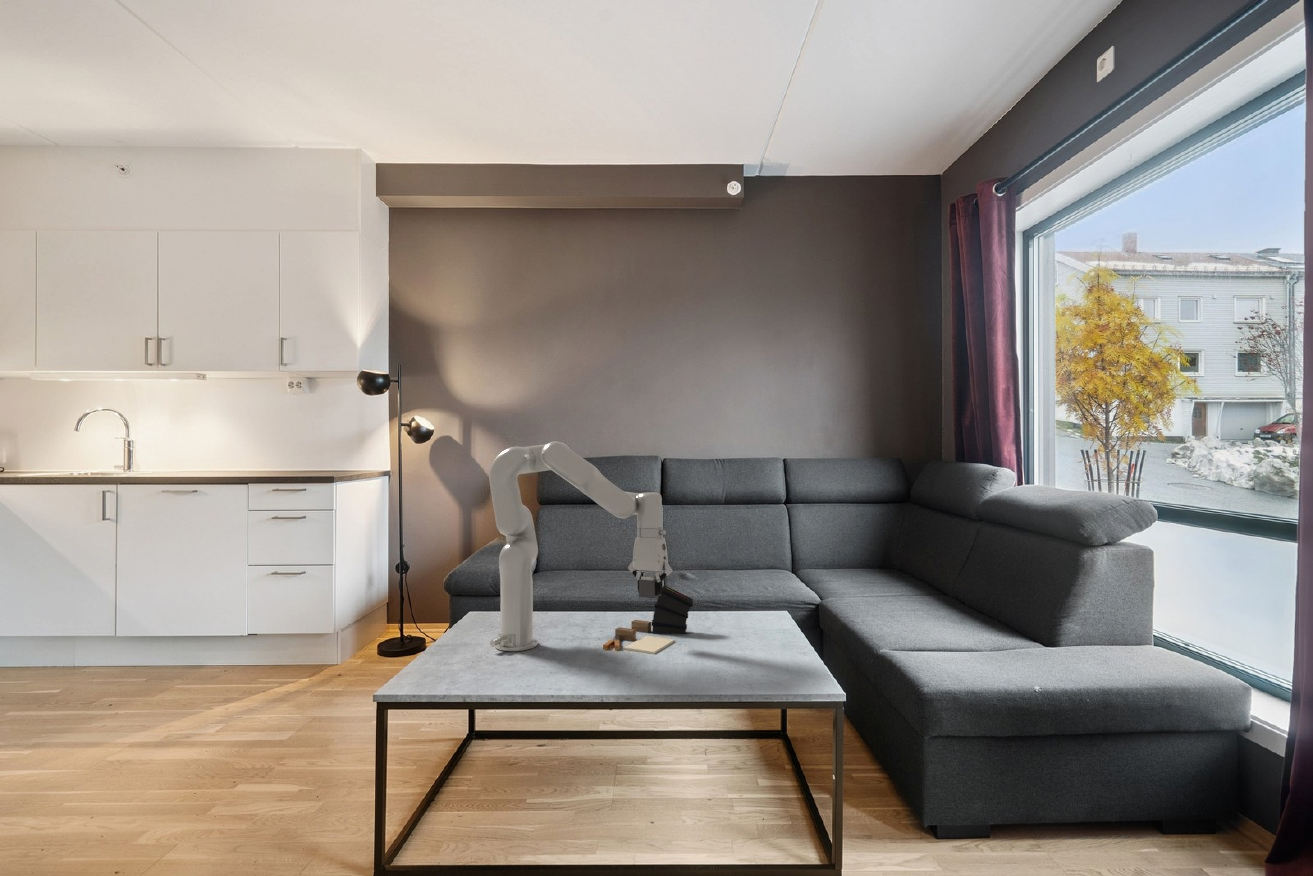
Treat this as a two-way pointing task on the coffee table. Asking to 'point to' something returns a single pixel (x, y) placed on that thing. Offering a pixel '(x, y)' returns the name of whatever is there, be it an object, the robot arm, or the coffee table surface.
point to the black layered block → (671, 612)
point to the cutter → (612, 643)
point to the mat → (649, 644)
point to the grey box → (647, 586)
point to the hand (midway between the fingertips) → (650, 593)
